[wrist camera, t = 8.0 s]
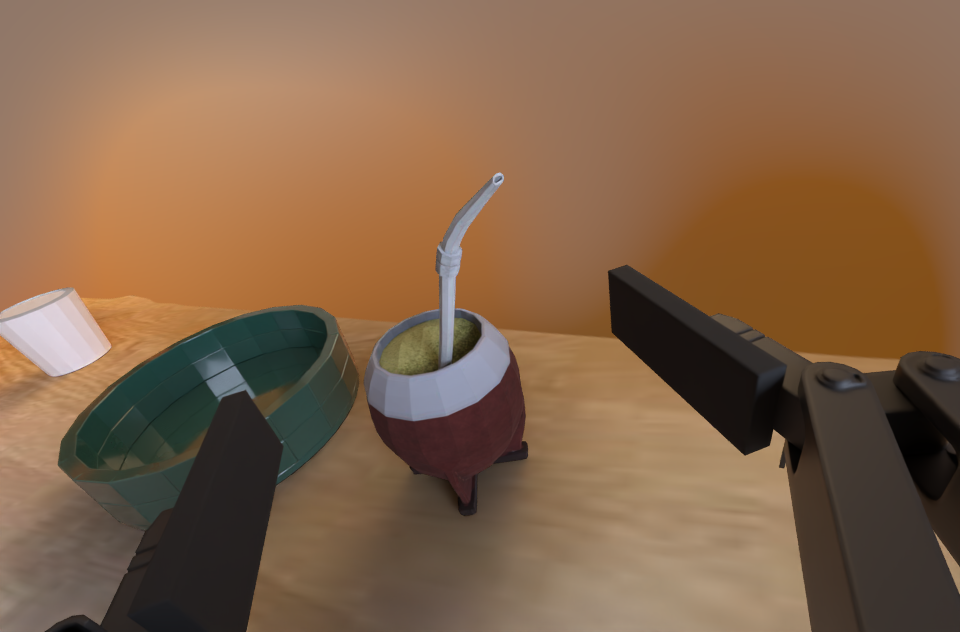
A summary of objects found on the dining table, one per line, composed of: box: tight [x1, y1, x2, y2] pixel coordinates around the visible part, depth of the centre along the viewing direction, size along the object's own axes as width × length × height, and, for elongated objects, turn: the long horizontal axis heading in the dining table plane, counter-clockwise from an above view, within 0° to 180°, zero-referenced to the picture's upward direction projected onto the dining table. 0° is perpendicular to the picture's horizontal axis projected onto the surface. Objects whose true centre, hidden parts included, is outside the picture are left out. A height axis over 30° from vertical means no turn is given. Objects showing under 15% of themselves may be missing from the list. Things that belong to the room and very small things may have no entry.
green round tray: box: [58, 305, 359, 530], centre depth 28 cm, size 17×17×4 cm
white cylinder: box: [0, 288, 111, 377], centre depth 43 cm, size 7×7×7 cm
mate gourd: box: [364, 173, 528, 516], centre depth 18 cm, size 8×8×15 cm
